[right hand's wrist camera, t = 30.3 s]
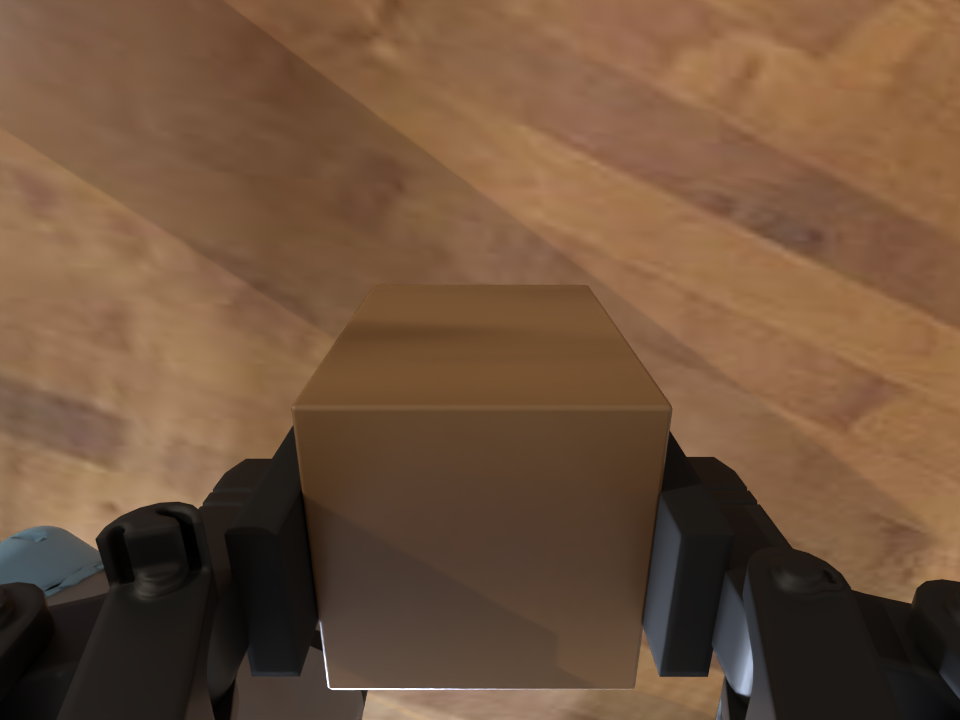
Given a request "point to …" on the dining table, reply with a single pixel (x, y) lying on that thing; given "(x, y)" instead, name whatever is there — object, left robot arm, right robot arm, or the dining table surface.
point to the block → (481, 491)
